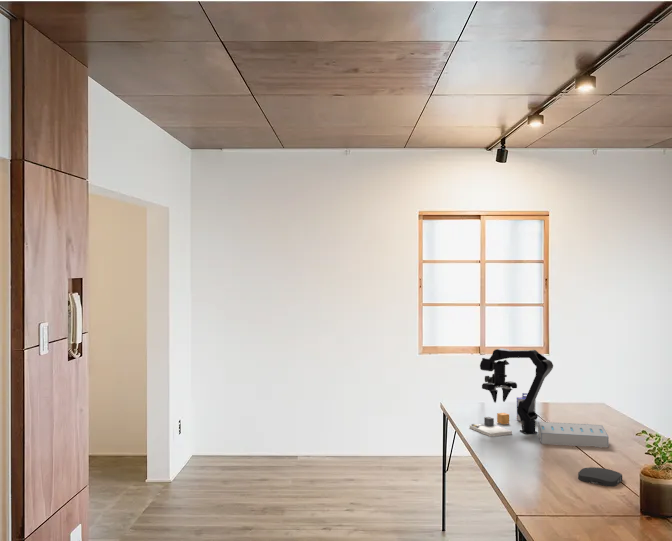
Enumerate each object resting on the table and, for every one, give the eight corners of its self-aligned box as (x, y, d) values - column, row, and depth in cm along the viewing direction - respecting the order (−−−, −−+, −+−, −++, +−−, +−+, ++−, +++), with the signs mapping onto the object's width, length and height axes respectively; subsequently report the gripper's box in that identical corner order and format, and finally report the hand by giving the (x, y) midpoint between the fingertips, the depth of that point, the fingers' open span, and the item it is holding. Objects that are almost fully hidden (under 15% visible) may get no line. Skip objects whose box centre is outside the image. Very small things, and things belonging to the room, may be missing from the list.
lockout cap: (509, 423, 342) (509, 414, 342) (502, 424, 340) (502, 415, 340) (504, 421, 346) (504, 412, 346) (497, 422, 345) (497, 413, 345)
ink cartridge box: (534, 419, 352) (534, 393, 352) (536, 421, 347) (536, 395, 347) (516, 418, 354) (516, 392, 354) (517, 420, 348) (517, 394, 348)
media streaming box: (587, 471, 262) (587, 464, 262) (624, 479, 253) (624, 471, 253) (575, 480, 251) (575, 473, 251) (614, 488, 242) (614, 481, 242)
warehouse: (541, 444, 303) (541, 428, 303) (538, 436, 317) (538, 421, 317) (608, 448, 297) (608, 432, 297) (602, 440, 311) (602, 425, 311)
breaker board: (512, 434, 320) (512, 429, 320) (490, 436, 315) (490, 432, 315) (490, 425, 337) (490, 421, 337) (469, 427, 332) (469, 423, 332)
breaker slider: (493, 425, 331) (493, 418, 331) (488, 425, 330) (488, 418, 330) (489, 423, 335) (489, 416, 335) (484, 423, 334) (484, 417, 334)
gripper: (504, 369, 346) (504, 397, 346) (475, 371, 339) (475, 400, 339) (517, 372, 336) (517, 401, 336) (488, 374, 329) (488, 404, 329)
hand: (499, 402), depth 335 cm, fingers open, 5 cm apart
